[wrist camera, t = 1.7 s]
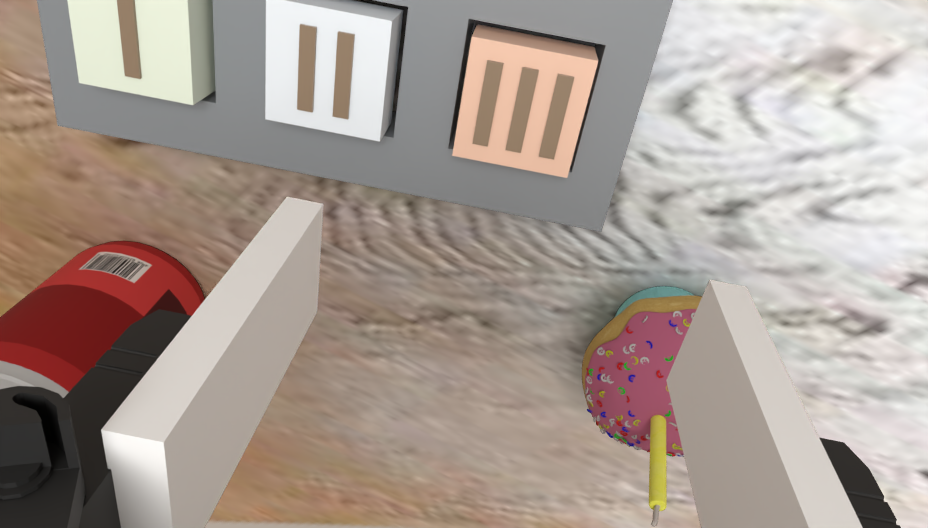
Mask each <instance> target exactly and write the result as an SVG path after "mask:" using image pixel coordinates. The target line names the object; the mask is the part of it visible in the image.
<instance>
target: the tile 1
mask: <svg viewBox="0 0 928 528" xmlns="http://www.w3.org/2000/svg"><path fill="white" fill-rule="evenodd" d="M67 2H68V9H69V16H70V23H71V30H72V37H73V44H74V51H75V58H76V65H77V72H78V79H79V83H82V84H87V85H92V86H97V87H102V88H107V89H112V90H118V91H123V92H128V93H133V94H138V95H143V96H148V97H154V98H159V99H164V100H169V101H174V102H179V103H184V104H189V105H194V104H196V103H197V102H199V101H200V100H202V99H203V98H205V97H206V96H208V95H209V94H211V93H212V92H214V91H215V90H216V87H215V58H214V29H213V0H67Z"/></svg>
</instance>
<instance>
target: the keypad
mask: <svg viewBox="0 0 928 528" xmlns="http://www.w3.org/2000/svg"><path fill="white" fill-rule="evenodd" d="M374 1H380V2H385V3H390V4H395V5H400V6H406V7H408V14H407V23H406V32H405V40H404V49H403V58H402V67H401V76H400V85H399V94H398V103H397V111H392V119H391V124H390V126H389V127H388V129H387V131H386V132H385V134H384V136H383V137H382V139H381V141H374V140H369V139H364V138H359V137H354V136H349V135H344V134H338V133H333V132H328V131H323V130H318V129H313V128H308V127H303V126H297V125H292V124H287V123H282V122H277V121H272V120H267V119H265V84H266V0H213V29H214V58H215V87H216V90H215V91H214V92H212V93H211V94H209V95H208V96H206V97H205V98H203V99H202V100H200V101H199V102H197V103H196V104H194V105H189V104H184V103H179V102H174V101H169V100H164V99H159V98H154V97H148V96H143V95H138V94H133V93H128V92H123V91H118V90H112V89H107V88H102V87H97V86H92V85H87V84H82V83H79V79H78V72H77V65H76V58H75V51H74V44H73V37H72V30H71V23H70V16H69V9H68V2H67V0H37V3H38V9H39V15H40V21H41V27H42V33H43V39H44V45H45V52H46V58H47V64H48V70H49V76H50V82H51V88H52V94H53V100H54V106H55V112H56V118H57V124H58V126H62V127H67V128H72V129H78V130H83V131H88V132H93V133H98V134H103V135H108V136H113V137H119V138H124V139H129V140H134V141H139V142H144V143H149V144H154V145H159V146H165V147H170V148H175V149H180V150H185V151H190V152H195V153H200V154H206V155H211V156H216V157H221V158H226V159H231V160H236V161H241V162H247V163H252V164H257V165H262V166H267V167H272V168H277V169H282V170H288V171H293V172H298V173H303V174H308V175H313V176H318V177H323V178H329V179H334V180H339V181H344V182H349V183H354V184H359V185H364V186H370V187H375V188H380V189H385V190H390V191H395V192H400V193H405V194H411V195H416V196H421V197H426V198H431V199H436V200H441V201H446V202H452V203H457V204H462V205H467V206H472V207H477V208H482V209H487V210H493V211H498V212H503V213H508V214H513V215H518V216H523V217H528V218H534V219H539V220H544V221H549V222H554V223H559V224H564V225H569V226H575V227H580V228H585V229H590V230H595V231H600V232H601V231H602V228H603V225H604V221H605V218H606V215H607V212H608V208H609V205H610V202H611V199H612V196H613V192H614V189H615V186H616V183H617V179H618V176H619V173H620V170H621V166H622V163H623V160H624V157H625V154H626V150H627V147H628V144H629V141H630V137H631V134H632V131H633V128H634V125H635V121H636V118H637V115H638V112H639V108H640V105H641V102H642V99H643V96H644V92H645V89H646V86H647V83H648V79H649V76H650V73H651V70H652V66H653V63H654V60H655V57H656V54H657V50H658V47H659V44H660V41H661V37H662V34H663V31H664V28H665V25H666V21H667V18H668V15H669V12H670V8H671V5H672V2H673V0H374ZM474 20H478V21H483V22H488V23H494V24H499V25H504V26H509V27H514V28H519V29H525V30H530V31H535V32H540V33H545V34H550V35H556V36H561V37H566V38H571V39H576V40H582V41H587V42H592V43H596V45H595V51H596V54H597V58H598V64H597V68H596V72H595V76H594V79H593V83H592V87H591V91H590V94H589V98H588V102H587V106H586V109H585V113H584V117H583V121H582V124H581V128H580V132H579V136H578V139H577V143H576V147H575V151H574V154H573V158H572V162H571V166H570V169H569V173H568V177H567V178H564V177H559V176H554V175H549V174H544V173H539V172H534V171H529V170H523V169H518V168H513V167H508V166H503V165H498V164H493V163H487V162H482V161H477V160H472V159H467V158H462V157H457V156H452V154H453V148H454V142H455V136H456V129H457V120H458V114H459V108H460V102H461V95H462V89H463V83H464V77H465V71H466V65H467V59H468V53H469V46H470V40H471V34H472V28H473V22H474Z"/></svg>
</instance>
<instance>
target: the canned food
mask: <svg viewBox="0 0 928 528" xmlns="http://www.w3.org/2000/svg"><path fill="white" fill-rule="evenodd" d="M204 300H205V299H204V296H203V293H202V290H201V288H200V287H199V285H198V283H197V282H196V280H195V278H194V277H193V276H192V275H191V274H190V272H189V271H188V270H187V269H186V268H185V267H184V266H183V265H181V264H180V263H179V262H178V261H177V260H176V259H174V258H172V257H171V256H169V255H168V254H166V253H165V252H163V251H160V250H158V249H156V248H154V247H151V246H148V245H145V244H141V243H138V242H129V241H114V242H108V243H105V244H101V245H98V246H95V247H91V248H89V249H87V250H85V251H83V252H81V253H79V254H78V255H77V256H75V257H74V258H73V259H72V260H70V261H69V262H68V263H67V264H65V265H64V266H63V267H62V268H61V269H59V270H58V271H57V272H56V273H54V274H53V275H52V276H51V277H49V278H48V279H47V280H46V281H44V282H43V283H42V284H41V285H40V286H38V287H37V288H36V289H35V290H33V291H32V292H31V293H30V294H28V295H27V296H26V297H25V298H23V299H22V300H21V301H20V302H18V303H17V304H16V305H15V306H14V307H12V308H11V309H10V310H9V311H7V312H6V313H5V314H4V315H2V316H1V317H0V389H4V388H9V387H15V386H32V387H43V388H45V389H48V390H51V391H53V392H56V393H59V394H60V395H61V396H62V398H64V397H65V396H66V395H67V394H68V393H69V391H70V390H71V389H72V388H73V387H74V386H75V385H76V384H77V383H78V382H79V381H80V379H81V378H82V377H83V376H84V375H85V374H86V373H87V372H88V371H89V370H90V369H91V367H93V368H94V367H95V365H96V362H97V361H98V360H99V359H100V358H101V357H102V355H103V354H104V353H105V352H106V351H107V350H111V346H112V345H113V343H114V342H115V341H116V340H117V339H118V338H119V337H120V336H121V335H122V334H123V333H124V331H125V330H126V329H127V328H128V327H129V326H130V325H131V324H133V323H135V322H137V321H138V320H140V319H142V318H144V317H146V316H148V315H149V314H151V313H153V312H155V311H157V310H159V309H161V310H166V311H171V312H176V313H181V314H186V315H191V316H192V315H193V314H194V313H195V311H196V310H197V309H198V308H199V306H200V305H201V304H202V303H203V301H204Z"/></svg>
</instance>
